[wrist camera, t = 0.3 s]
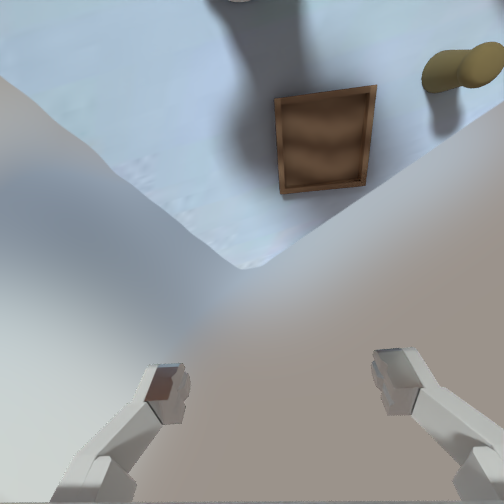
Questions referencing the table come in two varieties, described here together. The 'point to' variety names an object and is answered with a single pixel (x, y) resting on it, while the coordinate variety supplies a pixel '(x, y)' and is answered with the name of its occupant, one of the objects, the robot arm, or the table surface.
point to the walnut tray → (324, 139)
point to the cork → (463, 68)
